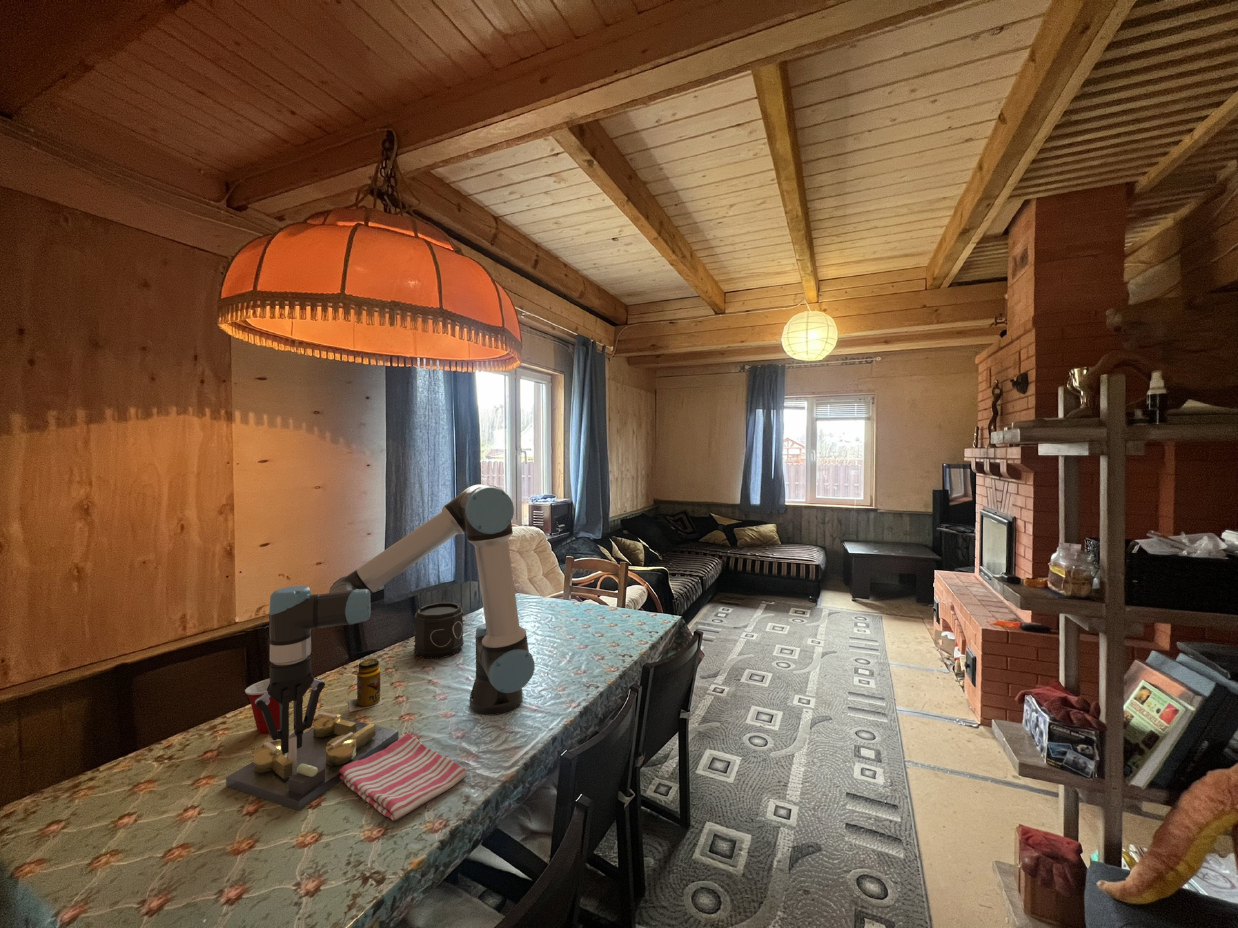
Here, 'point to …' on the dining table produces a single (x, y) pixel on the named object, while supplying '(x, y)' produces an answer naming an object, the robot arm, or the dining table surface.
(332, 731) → the knob
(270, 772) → the levelling plate
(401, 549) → the robot arm
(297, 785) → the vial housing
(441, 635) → the dark lidded canister
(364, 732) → the knob
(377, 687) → the condiment
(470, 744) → the dining table surface
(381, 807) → the dish towel
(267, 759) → the knob
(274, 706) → the plastic cup
